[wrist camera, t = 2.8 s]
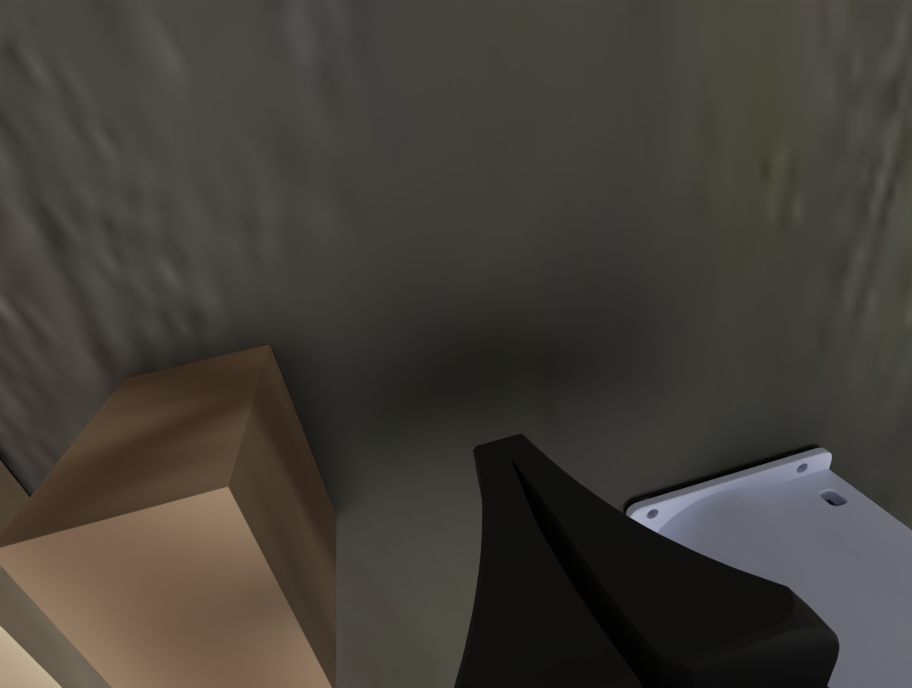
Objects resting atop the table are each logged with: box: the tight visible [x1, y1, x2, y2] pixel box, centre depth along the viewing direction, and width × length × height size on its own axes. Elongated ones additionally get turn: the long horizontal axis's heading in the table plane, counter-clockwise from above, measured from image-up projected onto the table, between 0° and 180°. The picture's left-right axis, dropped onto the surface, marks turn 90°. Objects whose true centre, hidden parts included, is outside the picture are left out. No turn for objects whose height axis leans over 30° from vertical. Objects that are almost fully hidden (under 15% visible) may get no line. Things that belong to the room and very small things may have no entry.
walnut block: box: [0, 344, 336, 688], centre depth 13 cm, size 4×7×6 cm, turn 9°
